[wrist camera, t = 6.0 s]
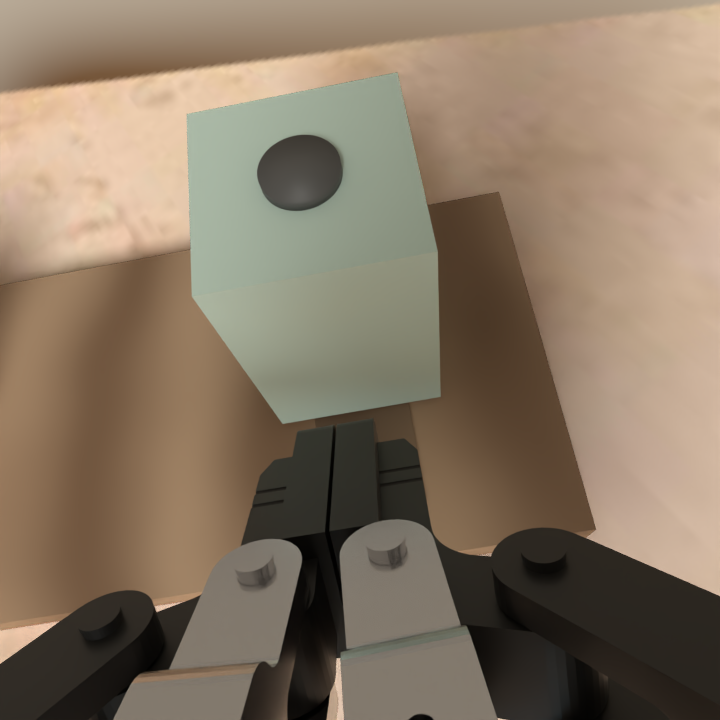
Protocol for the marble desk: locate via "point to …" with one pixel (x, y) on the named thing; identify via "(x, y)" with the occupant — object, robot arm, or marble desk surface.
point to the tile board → (246, 425)
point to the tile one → (317, 247)
